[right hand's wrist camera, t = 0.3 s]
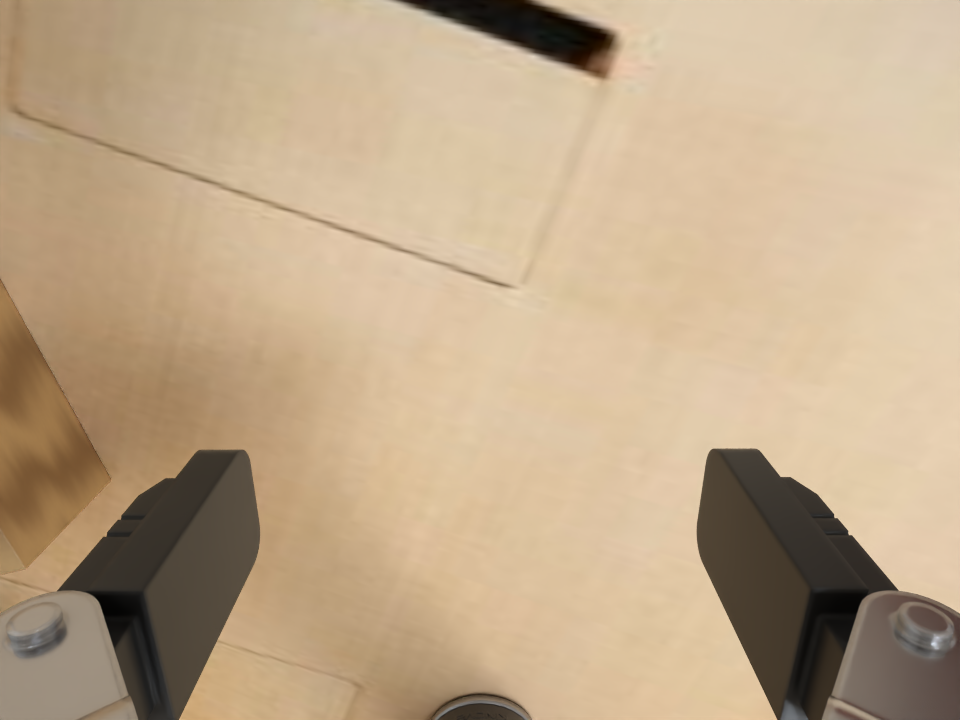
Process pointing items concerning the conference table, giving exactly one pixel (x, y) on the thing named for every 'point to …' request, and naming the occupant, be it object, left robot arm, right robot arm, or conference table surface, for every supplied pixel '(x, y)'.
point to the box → (37, 449)
